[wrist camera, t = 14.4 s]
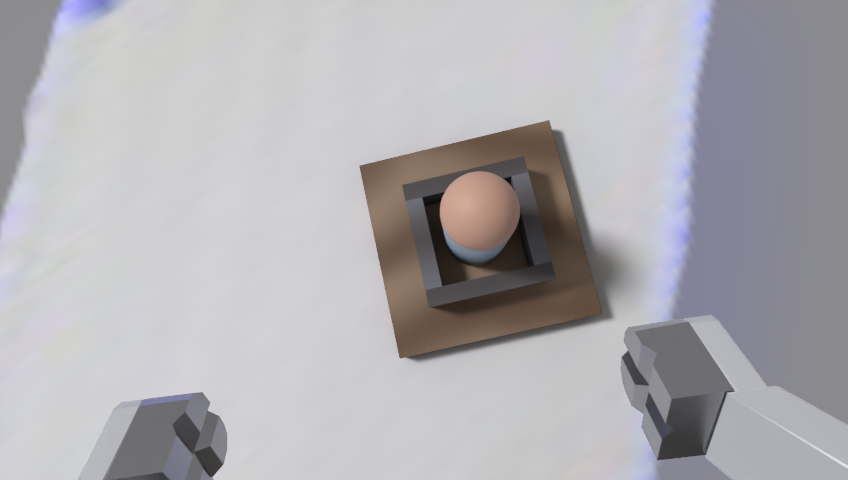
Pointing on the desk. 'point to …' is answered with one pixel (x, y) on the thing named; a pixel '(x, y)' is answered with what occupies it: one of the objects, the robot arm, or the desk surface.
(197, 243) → the desk surface
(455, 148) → the jig
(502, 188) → the peach-tipped grey cylinder
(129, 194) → the desk surface
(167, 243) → the desk surface
